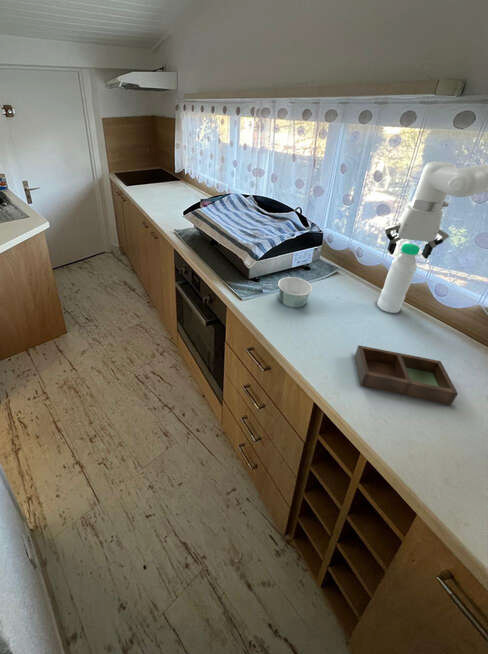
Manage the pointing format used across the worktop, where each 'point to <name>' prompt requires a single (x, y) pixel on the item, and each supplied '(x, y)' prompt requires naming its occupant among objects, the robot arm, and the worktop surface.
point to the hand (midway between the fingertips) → (407, 254)
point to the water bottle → (399, 279)
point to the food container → (294, 291)
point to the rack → (404, 375)
